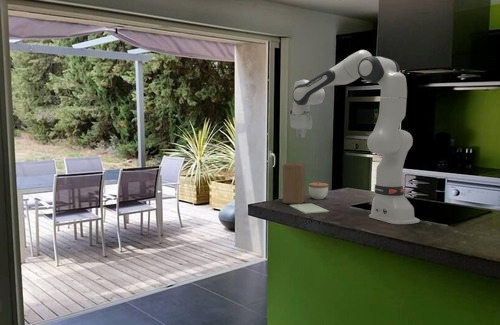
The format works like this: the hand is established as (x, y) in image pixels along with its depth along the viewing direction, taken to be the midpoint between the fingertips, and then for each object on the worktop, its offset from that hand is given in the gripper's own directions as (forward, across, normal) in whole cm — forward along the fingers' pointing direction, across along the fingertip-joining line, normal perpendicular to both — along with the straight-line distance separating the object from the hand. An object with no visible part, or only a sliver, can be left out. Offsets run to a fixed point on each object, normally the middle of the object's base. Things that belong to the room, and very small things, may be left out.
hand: (300, 137), depth 242 cm
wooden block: (+33, -10, +8) cm, 35 cm away
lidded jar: (+33, -2, -10) cm, 35 cm away
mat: (+33, -25, +7) cm, 42 cm away
